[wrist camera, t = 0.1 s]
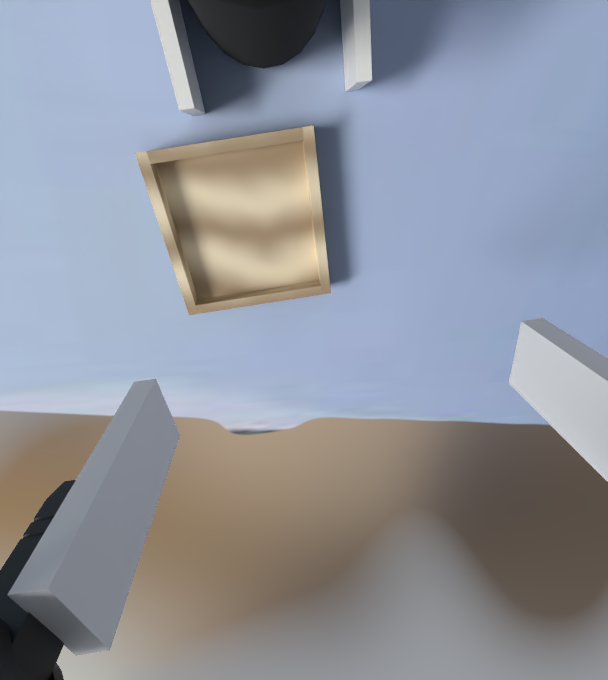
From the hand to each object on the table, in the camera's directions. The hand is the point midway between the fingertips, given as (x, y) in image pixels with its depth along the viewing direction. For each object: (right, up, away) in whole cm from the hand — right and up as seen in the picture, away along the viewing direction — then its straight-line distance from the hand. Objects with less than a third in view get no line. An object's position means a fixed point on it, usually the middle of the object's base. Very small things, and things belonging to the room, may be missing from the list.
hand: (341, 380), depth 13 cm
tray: (-8, +14, +24) cm, 28 cm away
